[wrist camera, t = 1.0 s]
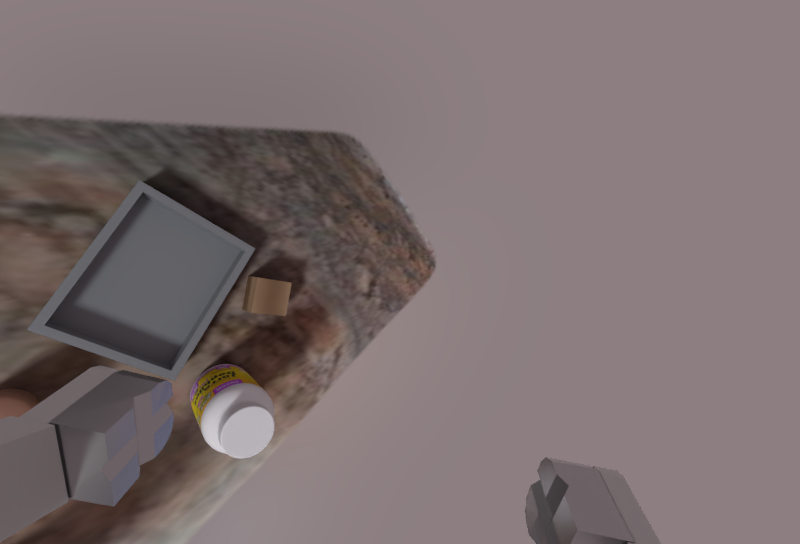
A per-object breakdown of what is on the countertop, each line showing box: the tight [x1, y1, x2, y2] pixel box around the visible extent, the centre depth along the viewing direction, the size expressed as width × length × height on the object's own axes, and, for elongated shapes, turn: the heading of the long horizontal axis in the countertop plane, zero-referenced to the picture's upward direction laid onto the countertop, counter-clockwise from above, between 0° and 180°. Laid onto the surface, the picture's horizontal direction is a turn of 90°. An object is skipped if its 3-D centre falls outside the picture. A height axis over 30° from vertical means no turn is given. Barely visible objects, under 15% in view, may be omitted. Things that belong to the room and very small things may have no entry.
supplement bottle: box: [190, 364, 274, 458], centre depth 39 cm, size 7×7×13 cm
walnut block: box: [242, 276, 292, 316], centre depth 45 cm, size 4×4×4 cm
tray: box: [27, 180, 255, 381], centre depth 39 cm, size 13×16×3 cm
